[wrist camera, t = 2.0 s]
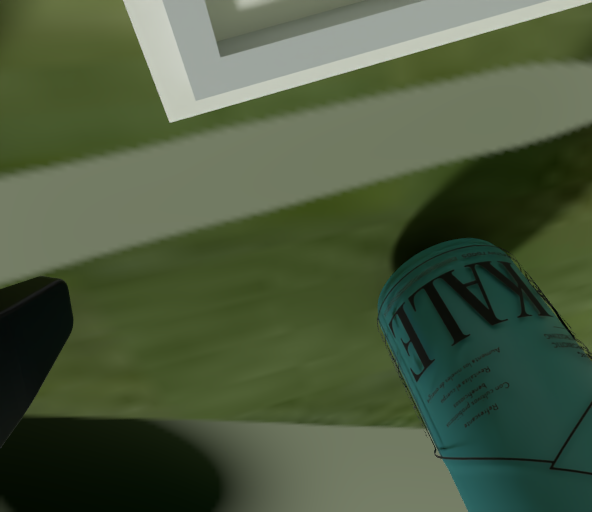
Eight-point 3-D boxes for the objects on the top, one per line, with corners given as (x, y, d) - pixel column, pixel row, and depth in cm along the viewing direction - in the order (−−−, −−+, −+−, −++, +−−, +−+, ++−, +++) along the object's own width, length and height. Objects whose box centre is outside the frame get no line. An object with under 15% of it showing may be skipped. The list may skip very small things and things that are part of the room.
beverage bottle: (447, 320, 28) (796, 905, 14) (334, 310, 25) (625, 1029, 11) (522, 220, 25) (1101, 877, 10) (399, 197, 22) (957, 1051, 7)
